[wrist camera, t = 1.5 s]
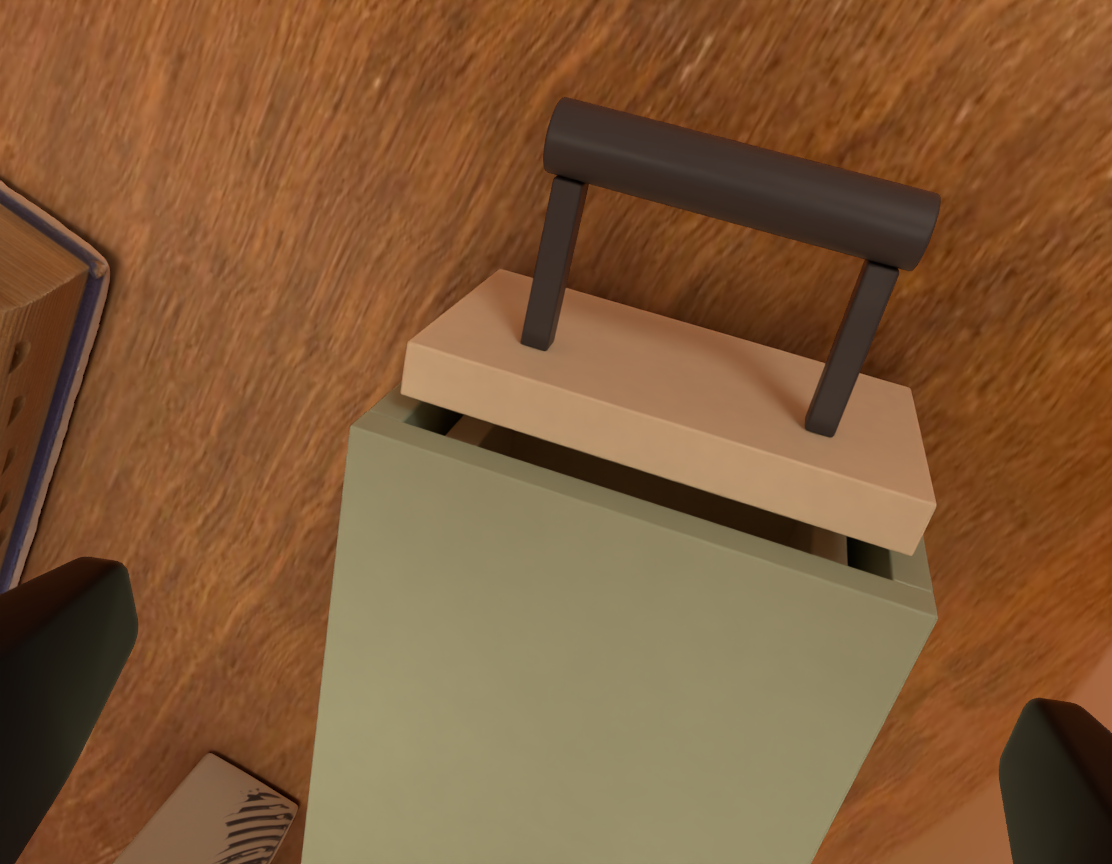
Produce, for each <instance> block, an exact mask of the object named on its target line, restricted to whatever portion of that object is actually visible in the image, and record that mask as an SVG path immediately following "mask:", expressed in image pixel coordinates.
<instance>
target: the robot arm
mask: <svg viewBox="0 0 1112 864" xmlns="http://www.w3.org/2000/svg"><path fill="white" fill-rule="evenodd" d="M137 633H138V618H137V613H136V608H135V603H134V598H133V593H132V588H131V584H130V579H129V574H128V571H127V569H126V567H125V566H124V565H123V564H122V563H120V562H118V561H114V560H108V559H101V558H94V557H81V558H78V559H75V560H73V561H71V562H69V563H66V564H64V565H62V566H60V567H58V568H56V569H54V570H51V571H49V572H47V573H45V574H43V575H41V576H38V577H36V578H34V579H32V580H30V581H28V582H26V583H23V584H21V585H19V586H17V587H15V588H13V589H11V590H8V591H6V592H4V593H2V594H0V864H15V862H16V861H17V859H18V858H19V856H20V854H21V853H22V851H23V850H24V848H25V846H26V845H27V843H28V842H29V840H30V838H31V837H32V835H33V834H34V832H35V831H36V829H37V827H38V826H39V824H40V823H41V821H42V819H43V818H44V816H45V815H46V813H47V811H48V810H49V808H50V807H51V805H52V804H53V802H54V800H55V799H56V797H57V795H58V794H59V792H60V790H61V789H62V787H63V785H64V784H65V782H66V780H67V779H68V777H69V775H70V773H71V771H72V769H73V767H74V766H75V764H76V762H77V760H78V758H79V756H80V754H81V752H82V750H83V748H84V746H85V744H86V742H87V740H88V738H89V736H90V734H91V732H92V730H93V728H94V726H95V724H96V722H97V720H98V718H99V716H100V714H101V712H102V710H103V708H104V706H105V704H106V702H107V700H108V698H109V695H110V693H111V691H112V689H113V687H114V685H115V683H116V681H117V679H118V677H119V675H120V673H121V671H122V669H123V667H124V665H125V663H126V661H127V659H128V657H129V655H130V653H131V651H132V649H133V647H134V644H135V641H136V638H137ZM999 781H1000V787H1001V793H1002V800H1003V806H1004V812H1005V817H1006V824H1007V830H1008V836H1009V841H1010V848H1011V854H1012V859H1013V864H1112V733H1111V732H1110V731H1109V730H1107V728H1105V727H1104V726H1103V725H1102V724H1101V723H1100V722H1099V721H1097V720H1096V719H1095V718H1094V717H1093V716H1092V715H1091V714H1090V713H1089V712H1087V711H1086V710H1085V709H1084V708H1082V707H1081V706H1079V705H1077V704H1074V703H1071V702H1064V701H1057V700H1051V699H1044V698H1035V699H1032V700H1030V701H1029V702H1028V703H1027V704H1026V705H1025V707H1024V708H1023V710H1022V712H1021V715H1020V717H1019V719H1018V721H1017V723H1016V725H1015V727H1014V729H1013V731H1012V734H1011V736H1010V738H1009V740H1008V742H1007V744H1006V746H1005V748H1004V751H1003V753H1002V756H1001V759H1000V764H999Z"/></svg>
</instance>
